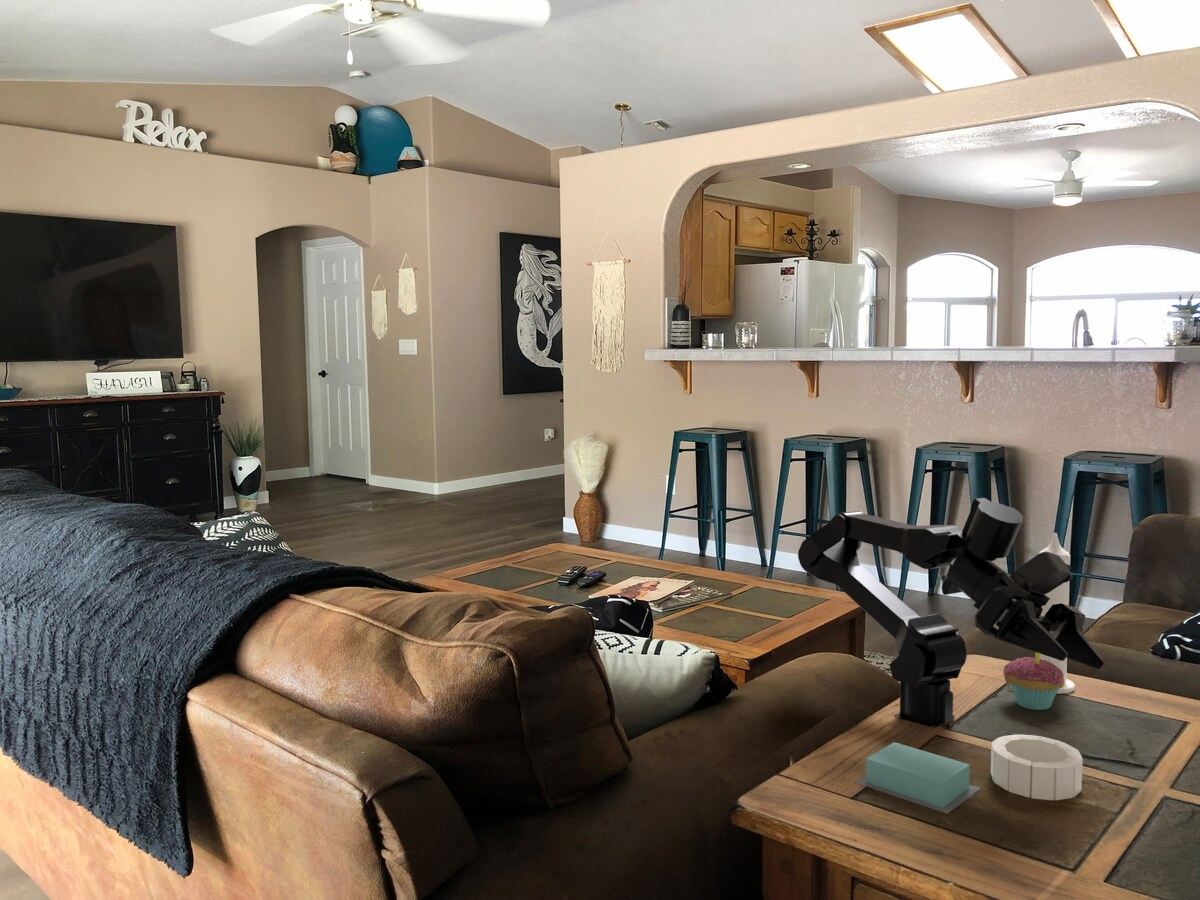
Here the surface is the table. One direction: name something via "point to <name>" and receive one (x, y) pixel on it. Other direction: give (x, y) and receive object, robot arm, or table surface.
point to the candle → (1058, 597)
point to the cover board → (918, 774)
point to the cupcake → (1034, 681)
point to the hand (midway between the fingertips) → (1084, 662)
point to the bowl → (1036, 767)
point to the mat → (945, 809)
